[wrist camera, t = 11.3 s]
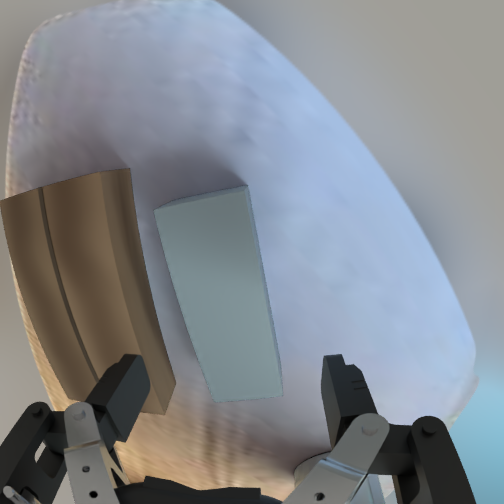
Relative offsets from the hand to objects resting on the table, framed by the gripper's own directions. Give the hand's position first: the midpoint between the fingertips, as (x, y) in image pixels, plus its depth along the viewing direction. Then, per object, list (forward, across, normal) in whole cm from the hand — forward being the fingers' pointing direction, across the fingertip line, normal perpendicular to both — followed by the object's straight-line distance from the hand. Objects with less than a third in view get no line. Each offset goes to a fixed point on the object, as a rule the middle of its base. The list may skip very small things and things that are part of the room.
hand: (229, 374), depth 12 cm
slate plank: (+9, +1, 0) cm, 9 cm away
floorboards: (+9, +12, 0) cm, 15 cm away
